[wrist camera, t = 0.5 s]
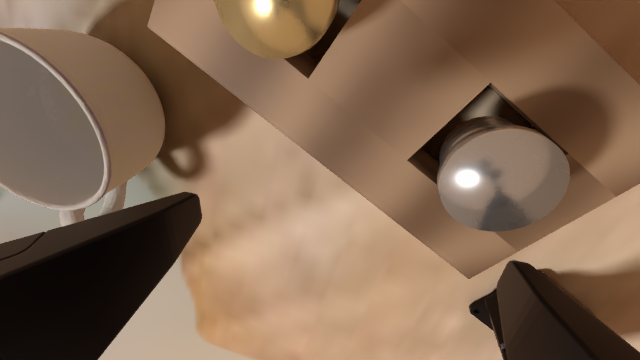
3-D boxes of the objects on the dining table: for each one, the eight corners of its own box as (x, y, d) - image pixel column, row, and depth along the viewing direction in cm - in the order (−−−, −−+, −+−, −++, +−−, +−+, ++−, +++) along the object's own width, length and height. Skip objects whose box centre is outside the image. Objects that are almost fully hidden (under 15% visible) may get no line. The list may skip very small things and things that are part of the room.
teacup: (49, 8, 21) (-122, 2, 14) (186, 45, 20) (74, 57, 13) (89, 173, 28) (-11, 221, 21) (191, 206, 27) (121, 269, 20)
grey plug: (557, 150, 14) (599, 184, 11) (474, 208, 17) (491, 248, 14) (487, 87, 14) (512, 104, 11) (412, 157, 16) (415, 187, 13)
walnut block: (636, 120, 16) (702, 148, 12) (457, 238, 22) (468, 278, 18) (286, -220, 13) (246, -307, 9) (192, 25, 19) (146, 26, 16)
